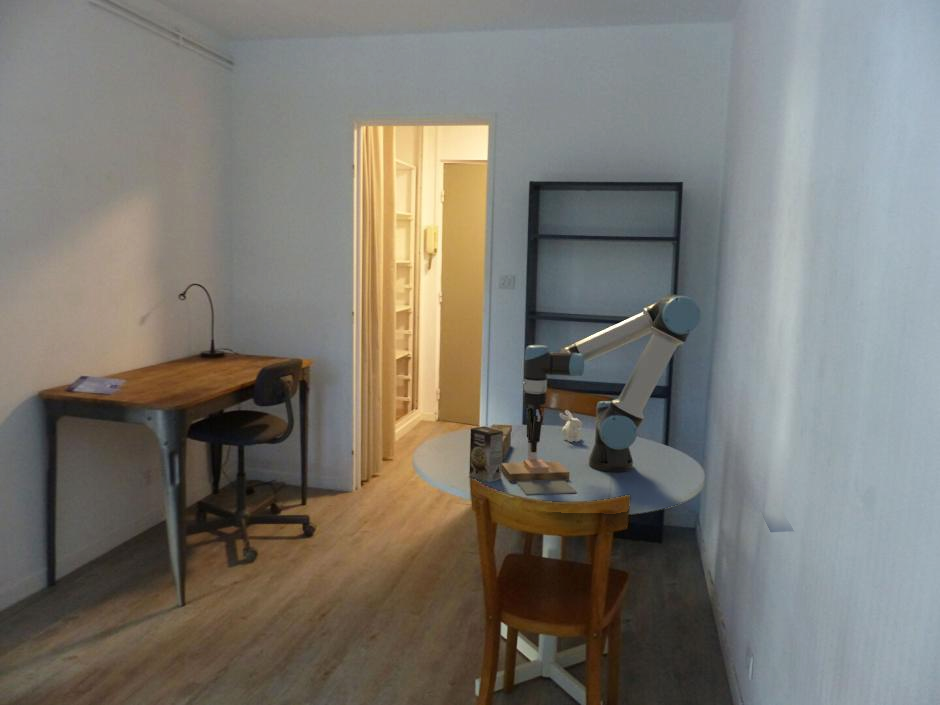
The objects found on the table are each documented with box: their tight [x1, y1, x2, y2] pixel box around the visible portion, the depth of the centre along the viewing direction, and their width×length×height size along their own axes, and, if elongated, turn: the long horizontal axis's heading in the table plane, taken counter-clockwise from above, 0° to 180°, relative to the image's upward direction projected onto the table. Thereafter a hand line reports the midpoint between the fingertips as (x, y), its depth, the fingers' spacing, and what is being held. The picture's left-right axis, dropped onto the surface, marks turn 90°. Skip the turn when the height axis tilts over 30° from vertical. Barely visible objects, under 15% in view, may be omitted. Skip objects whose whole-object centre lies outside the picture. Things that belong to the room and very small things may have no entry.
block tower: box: [490, 423, 513, 462], centre depth 257 cm, size 8×8×29 cm
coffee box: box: [468, 425, 503, 483], centre depth 226 cm, size 9×6×16 cm
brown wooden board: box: [501, 461, 570, 483], centre depth 231 cm, size 20×12×3 cm, turn 100°
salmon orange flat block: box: [523, 459, 549, 474], centre depth 229 cm, size 9×6×2 cm, turn 10°
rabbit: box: [559, 409, 583, 443], centre depth 281 cm, size 12×9×12 cm
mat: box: [515, 479, 578, 496], centre depth 219 cm, size 16×13×1 cm
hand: (532, 460), depth 234 cm, fingers closed
